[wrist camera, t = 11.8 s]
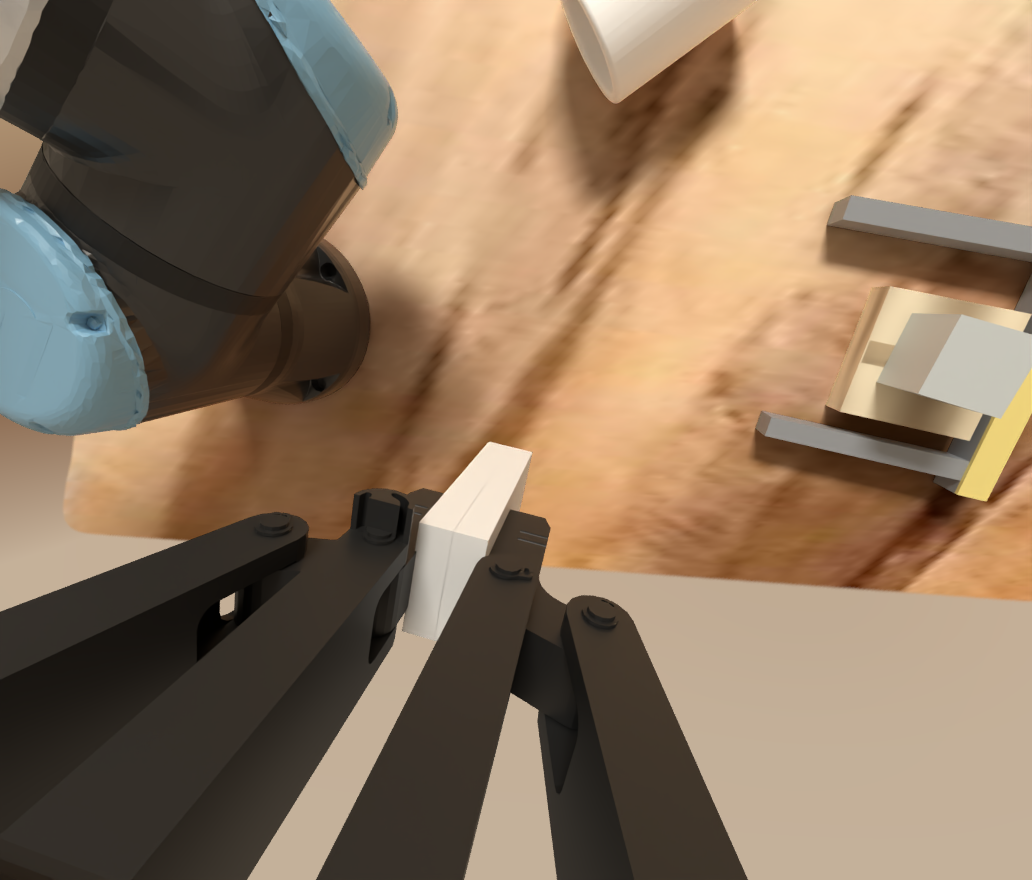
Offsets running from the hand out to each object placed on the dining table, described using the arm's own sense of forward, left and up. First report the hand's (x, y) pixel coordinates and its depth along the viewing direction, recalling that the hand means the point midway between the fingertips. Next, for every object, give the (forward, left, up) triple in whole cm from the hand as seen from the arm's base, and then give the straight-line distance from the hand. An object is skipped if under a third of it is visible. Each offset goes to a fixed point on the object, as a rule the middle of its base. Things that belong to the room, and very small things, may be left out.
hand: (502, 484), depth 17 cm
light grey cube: (+25, +7, -24) cm, 35 cm away
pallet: (+25, +7, -27) cm, 37 cm away
